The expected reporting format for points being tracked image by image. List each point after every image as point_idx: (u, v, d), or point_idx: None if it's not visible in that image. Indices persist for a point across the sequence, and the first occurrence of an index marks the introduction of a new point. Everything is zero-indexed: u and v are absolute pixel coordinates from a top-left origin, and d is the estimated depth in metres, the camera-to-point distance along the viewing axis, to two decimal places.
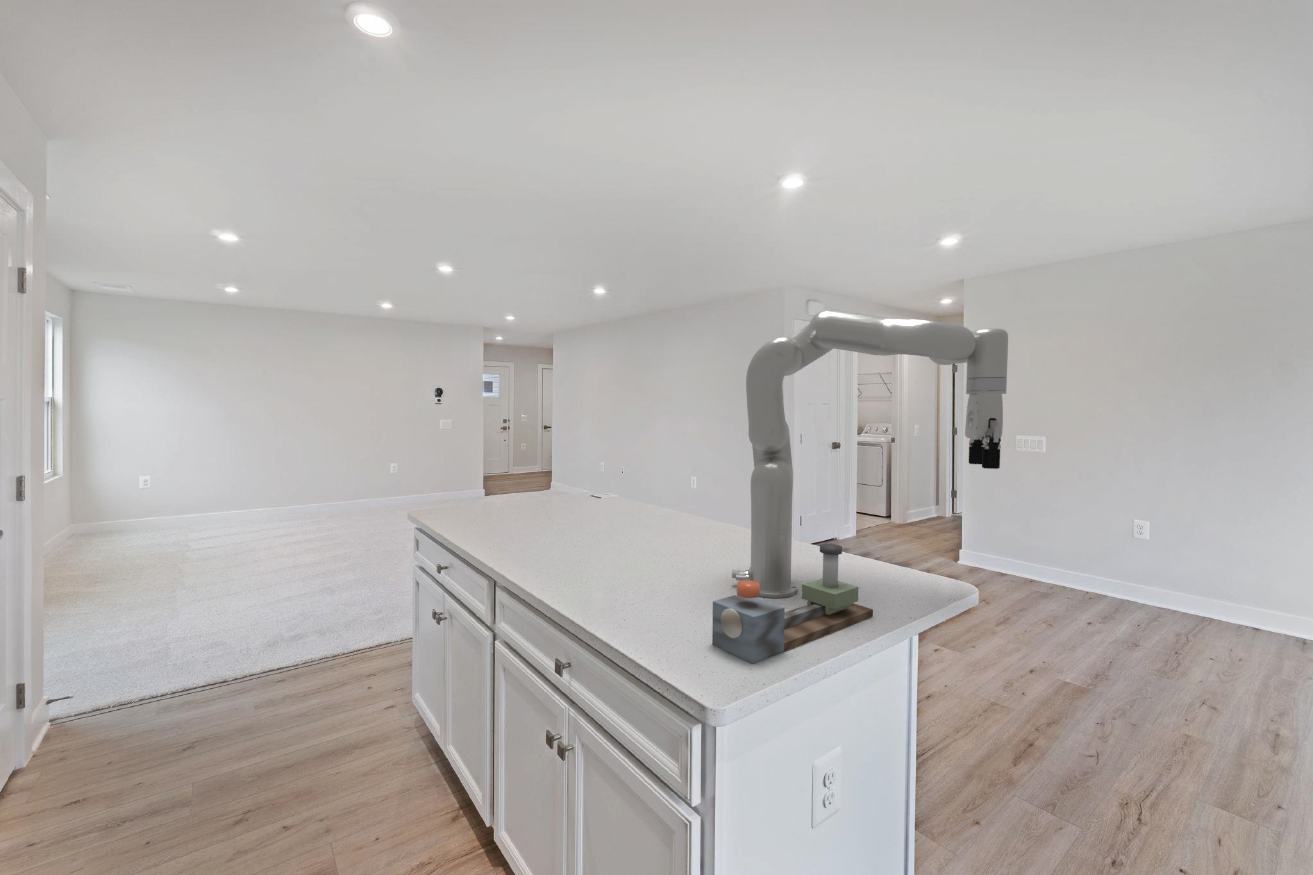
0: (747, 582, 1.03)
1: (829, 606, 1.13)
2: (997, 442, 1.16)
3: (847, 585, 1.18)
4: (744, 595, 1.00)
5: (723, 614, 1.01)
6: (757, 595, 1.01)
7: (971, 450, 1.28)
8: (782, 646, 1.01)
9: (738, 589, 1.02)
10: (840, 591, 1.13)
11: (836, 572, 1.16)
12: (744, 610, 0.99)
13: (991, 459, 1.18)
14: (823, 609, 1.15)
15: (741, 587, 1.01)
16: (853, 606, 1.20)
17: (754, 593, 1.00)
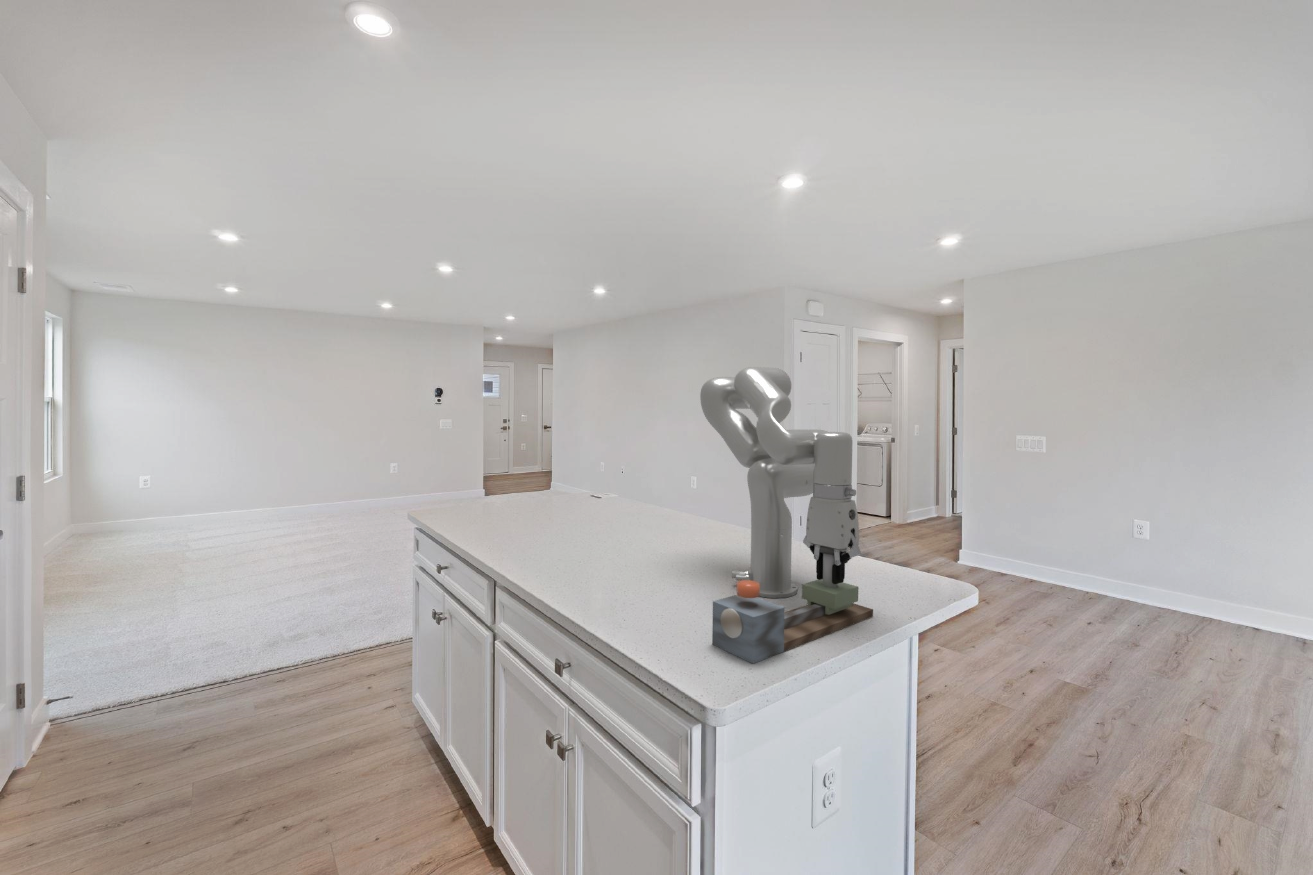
0: (747, 582, 1.03)
1: (829, 606, 1.13)
2: None
3: (847, 585, 1.18)
4: (744, 595, 1.00)
5: (723, 614, 1.01)
6: (757, 595, 1.01)
7: None
8: (782, 646, 1.01)
9: (738, 589, 1.02)
10: (840, 591, 1.13)
11: None
12: (744, 610, 0.99)
13: None
14: (823, 609, 1.15)
15: (741, 587, 1.01)
16: (853, 606, 1.20)
17: (754, 593, 1.00)
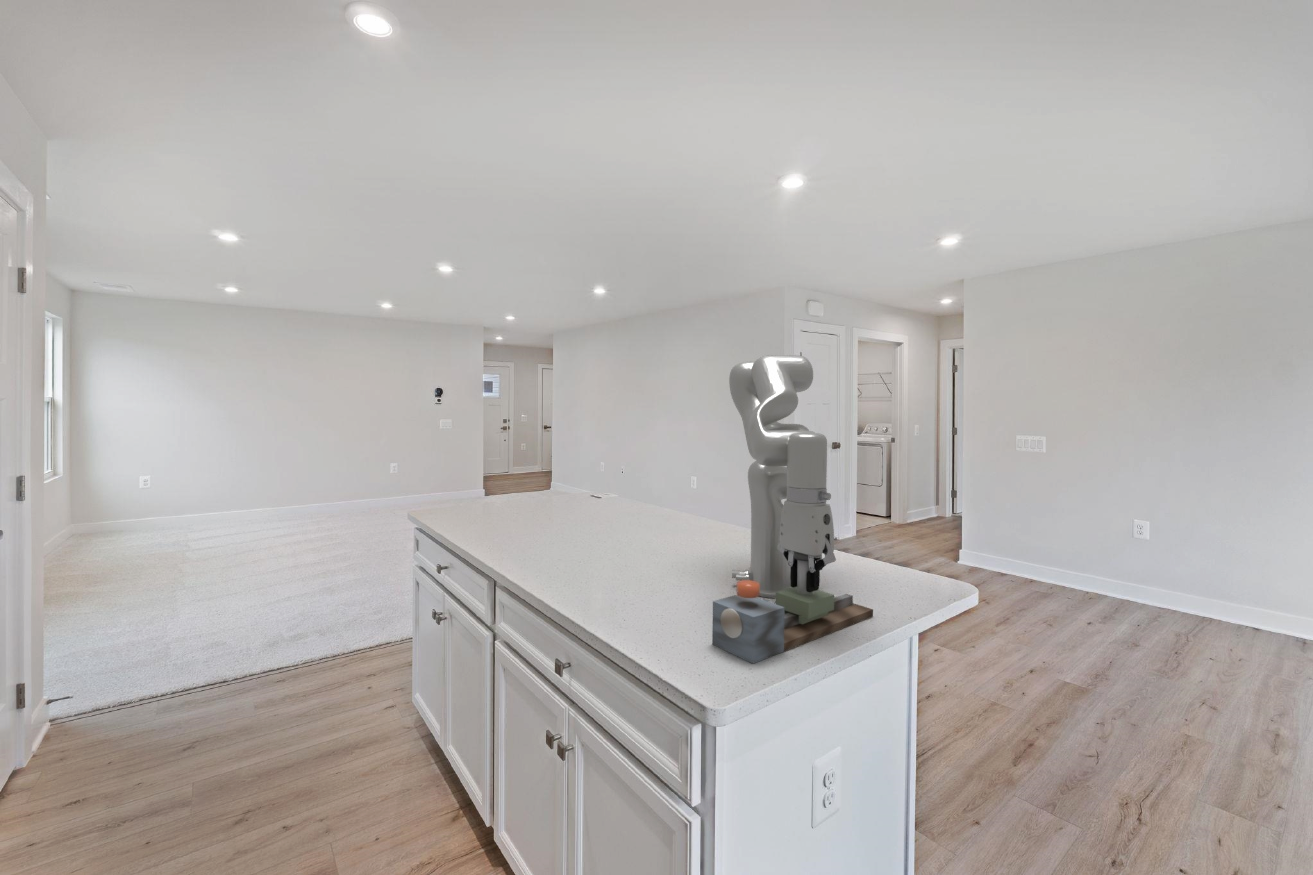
0: (747, 582, 1.03)
1: (802, 615, 1.08)
2: None
3: (822, 593, 1.12)
4: (744, 595, 1.00)
5: (723, 614, 1.01)
6: (757, 595, 1.01)
7: None
8: (782, 646, 1.01)
9: (738, 589, 1.02)
10: (814, 600, 1.08)
11: None
12: (744, 610, 0.99)
13: None
14: None
15: (741, 587, 1.01)
16: (853, 606, 1.20)
17: (754, 593, 1.00)
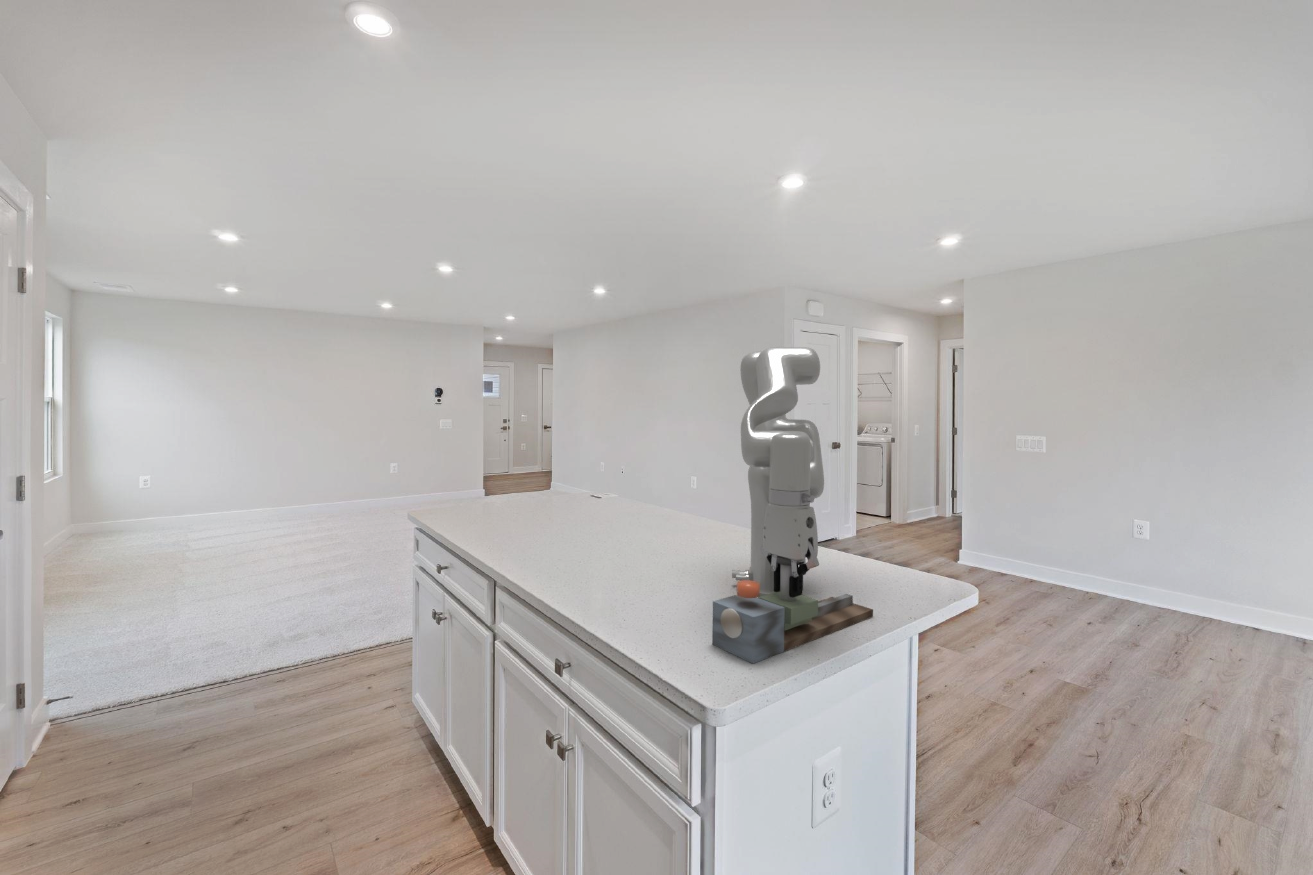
0: (747, 582, 1.03)
1: (785, 621, 1.05)
2: None
3: (806, 598, 1.09)
4: (744, 595, 1.00)
5: (723, 614, 1.01)
6: (757, 595, 1.01)
7: None
8: (782, 646, 1.01)
9: (738, 589, 1.02)
10: (796, 605, 1.05)
11: None
12: (744, 610, 0.99)
13: None
14: (823, 609, 1.15)
15: (741, 587, 1.01)
16: (853, 606, 1.20)
17: (754, 593, 1.00)
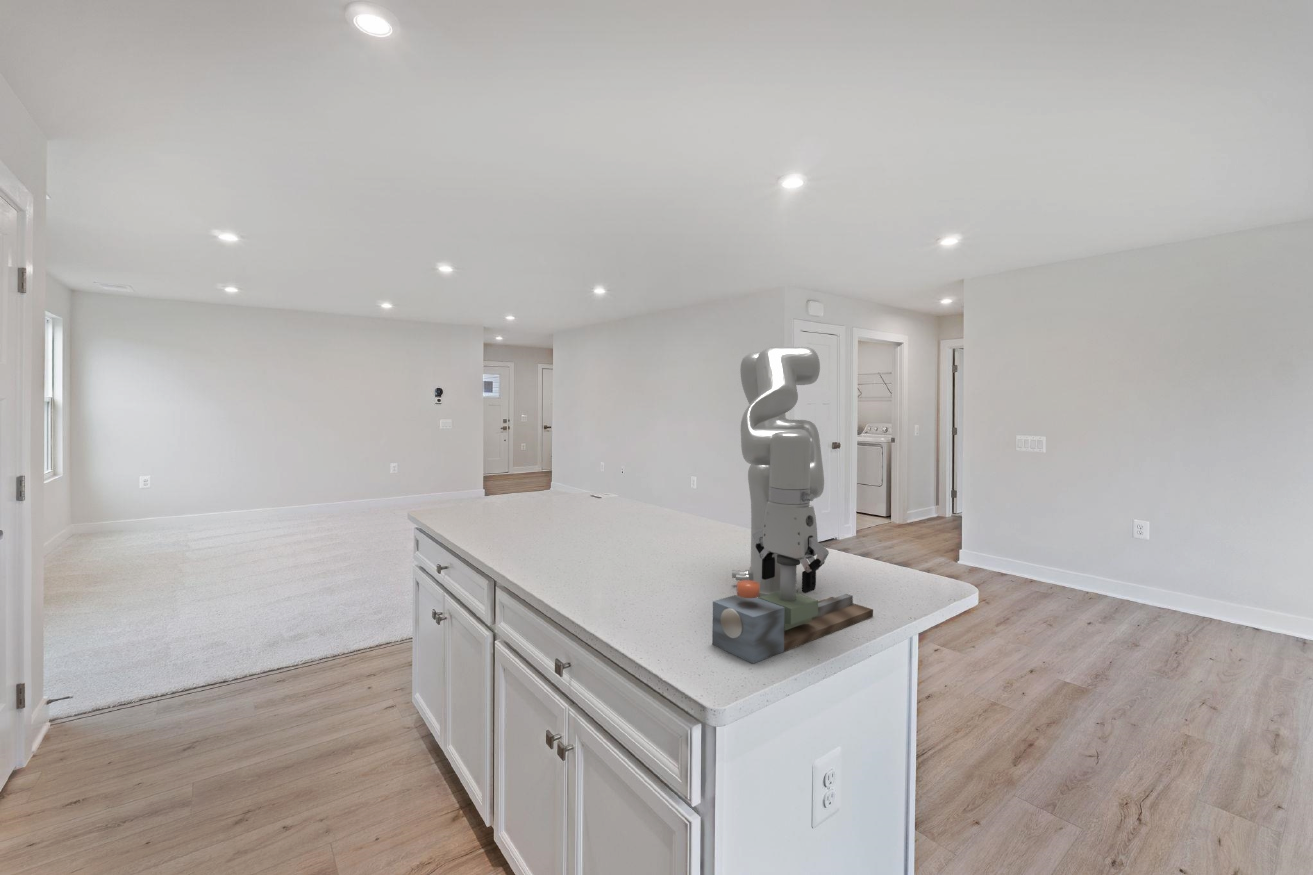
0: (747, 582, 1.03)
1: (785, 621, 1.05)
2: None
3: (806, 598, 1.09)
4: (744, 595, 1.00)
5: (723, 614, 1.01)
6: (757, 595, 1.01)
7: None
8: (782, 646, 1.01)
9: (738, 589, 1.02)
10: (796, 605, 1.05)
11: (793, 585, 1.08)
12: (744, 610, 0.99)
13: None
14: (823, 609, 1.15)
15: (741, 587, 1.01)
16: (853, 606, 1.20)
17: (754, 593, 1.00)
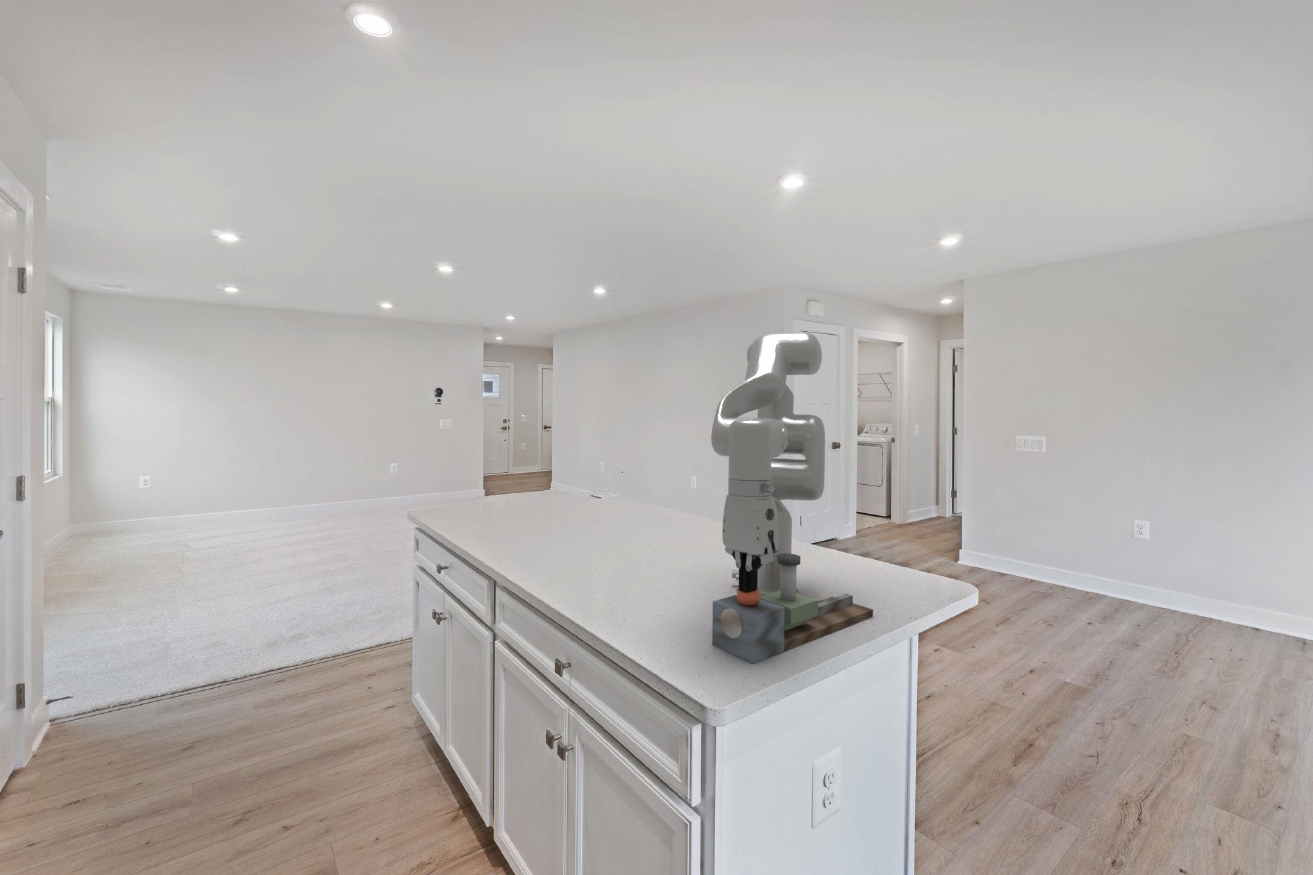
0: None
1: (785, 621, 1.05)
2: None
3: (806, 598, 1.09)
4: (744, 602, 1.01)
5: (723, 614, 1.01)
6: (757, 602, 1.01)
7: None
8: (782, 646, 1.01)
9: (738, 596, 1.02)
10: (796, 605, 1.05)
11: (793, 585, 1.08)
12: (744, 610, 0.99)
13: None
14: (823, 609, 1.15)
15: (741, 594, 1.01)
16: (853, 606, 1.20)
17: (754, 600, 1.00)
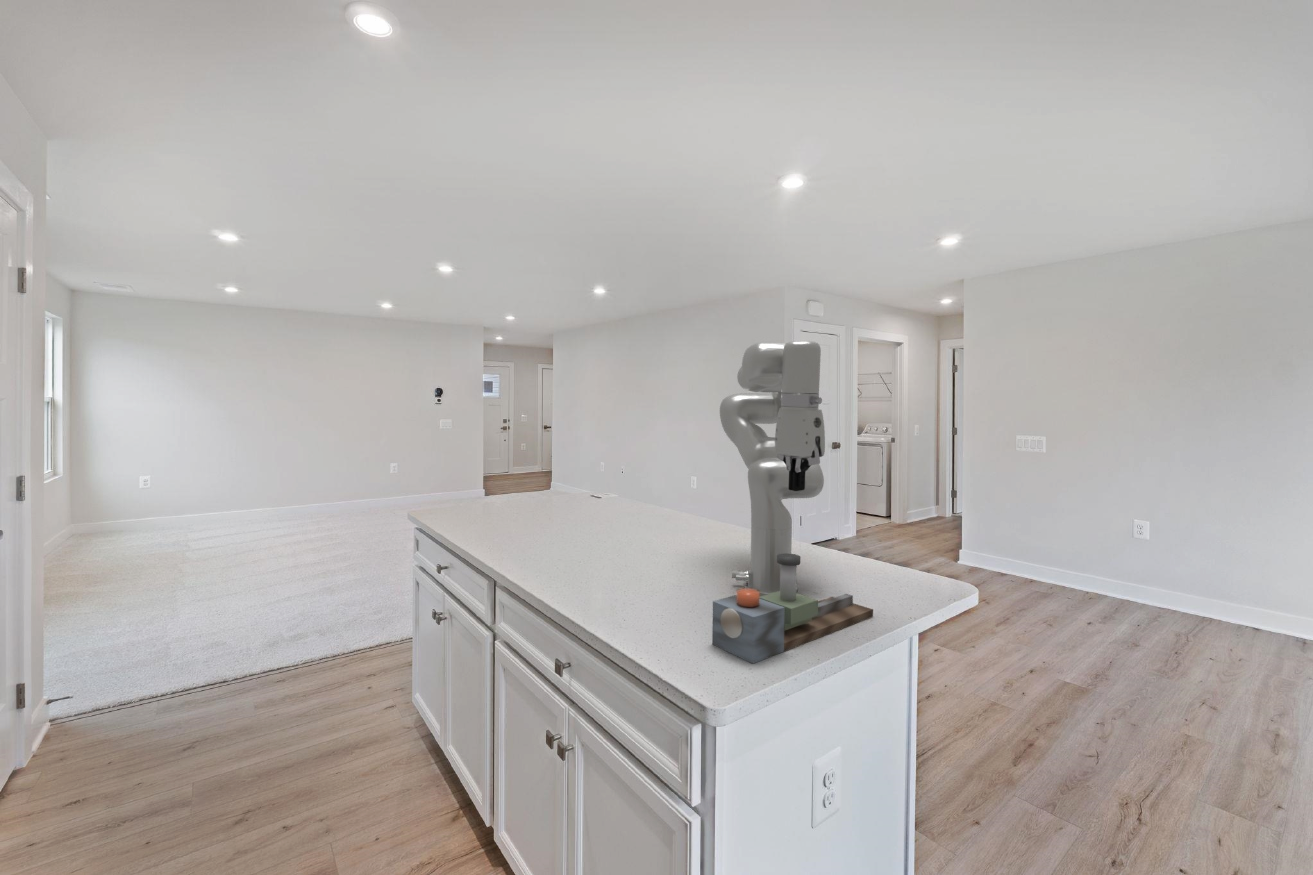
0: (747, 591, 1.03)
1: (785, 621, 1.05)
2: None
3: (806, 598, 1.09)
4: (744, 604, 1.01)
5: (723, 614, 1.01)
6: (757, 604, 1.01)
7: None
8: (782, 646, 1.01)
9: (738, 598, 1.02)
10: (796, 605, 1.05)
11: (793, 585, 1.08)
12: (744, 610, 0.99)
13: None
14: (823, 609, 1.15)
15: (741, 596, 1.01)
16: (853, 606, 1.20)
17: (754, 601, 1.01)
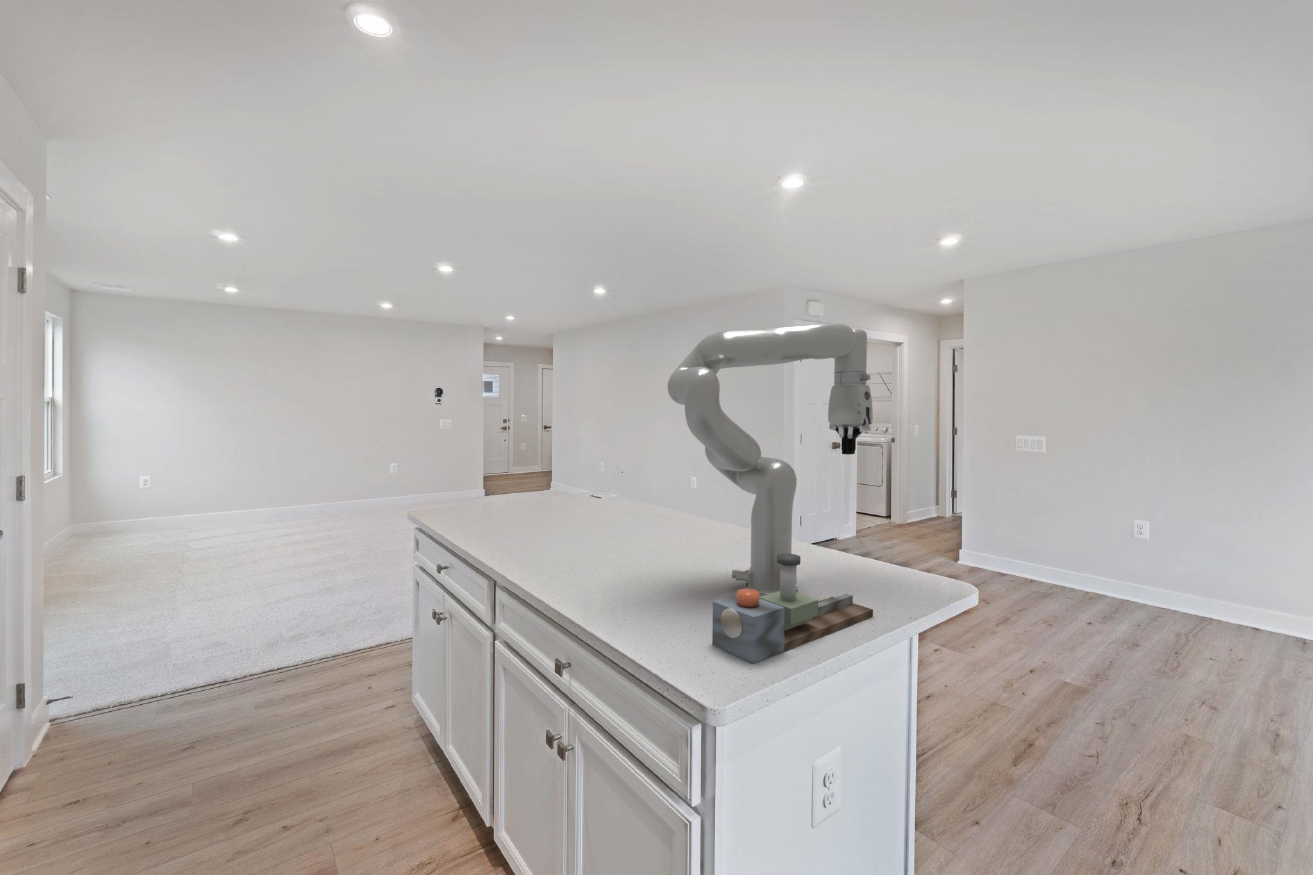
0: (747, 591, 1.03)
1: (785, 621, 1.05)
2: None
3: (806, 598, 1.09)
4: (744, 604, 1.01)
5: (723, 614, 1.01)
6: (757, 604, 1.01)
7: None
8: (782, 646, 1.01)
9: (738, 598, 1.02)
10: (796, 605, 1.05)
11: (793, 585, 1.08)
12: (744, 610, 0.99)
13: None
14: (823, 609, 1.15)
15: (741, 596, 1.01)
16: (853, 606, 1.20)
17: (754, 601, 1.01)
